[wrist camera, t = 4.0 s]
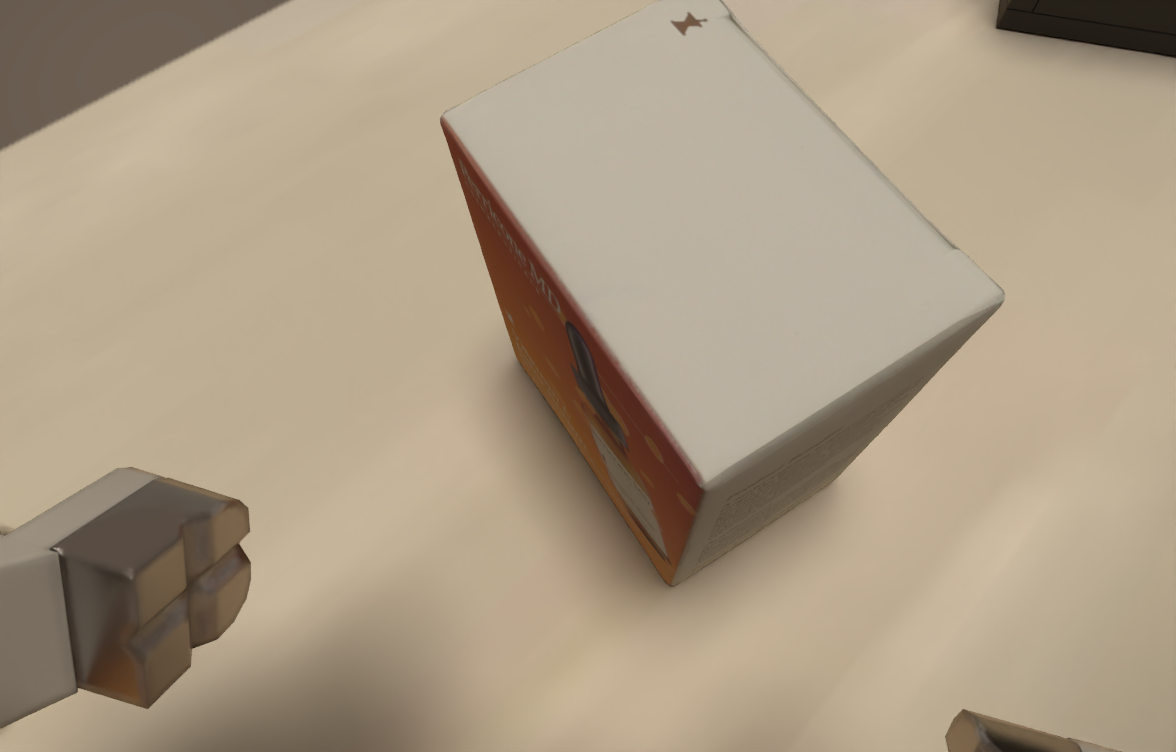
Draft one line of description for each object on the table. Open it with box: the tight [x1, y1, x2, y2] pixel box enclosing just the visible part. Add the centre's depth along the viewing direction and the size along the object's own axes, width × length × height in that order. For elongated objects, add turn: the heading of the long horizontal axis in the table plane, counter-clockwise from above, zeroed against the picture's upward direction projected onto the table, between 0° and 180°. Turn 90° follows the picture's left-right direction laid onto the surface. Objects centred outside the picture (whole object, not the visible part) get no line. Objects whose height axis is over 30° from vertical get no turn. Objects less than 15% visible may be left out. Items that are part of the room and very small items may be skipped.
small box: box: [440, 0, 1005, 586], centre depth 17 cm, size 8×6×10 cm
